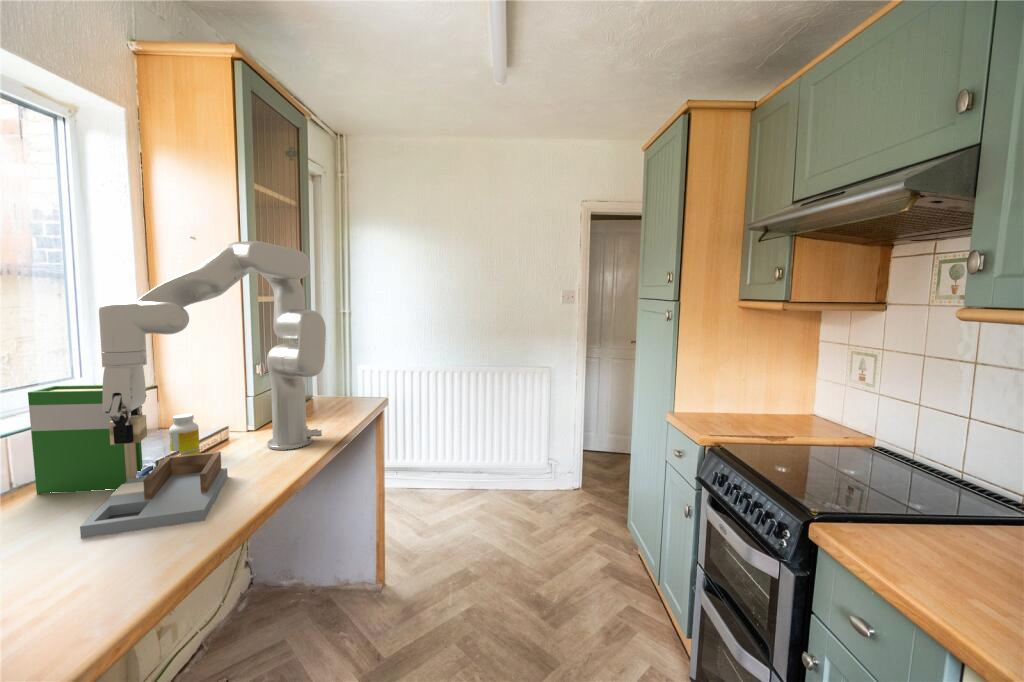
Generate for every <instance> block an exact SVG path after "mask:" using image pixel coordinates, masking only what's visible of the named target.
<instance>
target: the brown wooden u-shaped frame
mask: <svg viewBox="0 0 1024 682" xmlns="http://www.w3.org/2000/svg"><path fill="white" fill-rule="evenodd" d="M221 468H222V455H221V451H212V452H202V453H201V452H200V454H189V455H179V456H171V455H170V456H165V457H164V458H163V459H162V460H161V461H160V463H158V464H157V466H156V467H154V468H153V470H152V471H151V472H150V473H149V474H148V475H147V476H145V477H146V478H145V479H144V480H143V482H144V498H145V500H152V498H153V497H154V496H155V495H156V494H157V492H158V491H159V490H160V489H161V488H162V486H163V485H164V484H165V483H166V482H167V480H168V479H169V478H170V477H171V476H172V475H181V474H191V473H200V472H201V473H200V485H201V493H207V492H208V490H209V489H210V487H211V485H212V484H213V482H214V480H215V478H216V477H217V475H218V473H219V472H220V470H221Z"/></svg>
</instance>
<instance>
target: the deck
mask: <svg viewBox="0 0 1024 682" xmlns="http://www.w3.org/2000/svg"><path fill="white" fill-rule="evenodd" d="M200 473H201V472H200ZM200 473H191V474H181V475H172V476H171V477H170V478H169V479H168V480H167V482H166V483H165V484H164V485H163V486H162V488H161V489H160V490H159V491H158V492H157V494H156V495H155V496H154V497H153V498H152V500H145V498H144V482H143V480H144V479H145V478H146V477H147V476H143V477H139V478H130V479H129V480H128V481H127V482H126V483H125V484H122V485H121V486H120V487H119V488H118V489H117V490H114V491H113V492H112V493H111V494H110V497H109V498H108V499H107V500H105V502H104V503H103V504H102V505H101V506H99V508H98V509H96V511H95V512H94V513H92V514H91V515H90V516H89V517H88V518H87V519H86V520H85V521H84V522H82V524H81V525H80V526H79V531H80V539H86V538H93V537H100V536H106V535H113V534H121V533H128V532H135V530H136V531H141V530H147V529H156V528H162V527H167V526H168V527H169V526H170V527H171V526H176V525H177V526H178V525H183V524H191V523H197V522H203V521H205V520H206V519H207V517H208V515H209V514H210V512H211V509H212V507H213V506H212V505H214V504H215V502H216V500H217V499H218V498H217V497H218V496H219V494H220V492H221V490H222V489H221V488H223V487H222V486H224V485H223V484H225V483H226V481H227V479H228V468H227V467H223V468H222V467H221V470H220V472H219V473H218V475H217V477H216V478H215V480H214V482H213V484H212V485H211V487H210V489H209V490H208V492H207V493H201V485H200Z"/></svg>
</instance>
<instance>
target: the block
mask: <svg viewBox="0 0 1024 682" xmlns="http://www.w3.org/2000/svg"><path fill="white" fill-rule="evenodd" d="M124 417H125V419H126V416H124ZM112 423H113V421H110V422H109V431H110V445H115V443H114V432H113V425H112ZM131 424H133V442H132V443H139V442H140V441H141V442H142V441H143V440H144V439H146V438H147V436H148V429H147V427H148V426H147V424H148V423H147V415H146V414H143V415H136V416H131V422H130V425H131ZM125 444H128V443H125Z"/></svg>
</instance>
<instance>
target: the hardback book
mask: <svg viewBox="0 0 1024 682" xmlns="http://www.w3.org/2000/svg"><path fill="white" fill-rule="evenodd" d="M27 398H28V399H27V400H28V408H29V409H28V410H29V411H28V412H29V422H30V433H31V446H32V456H33V467H34V480H35V490H36V495H39V494H38V493H50V492H51V493H52V492H70V493H77V492H76V491H88V492H92V491H91V490H105V489H118V488H119V487H120V486H121V485H122V484H125V483H126V482H127V481H128V480H129V479H130V478H136V474H137V471H141V469H142V467H143V454H142V452H143V450H142V448H143V447H142V441H140V442H139V443H128V444H115V445H110V431H109V422H110V421H112V418H111V417H110V413H104V412H103V384H93V385H92V384H90V385H89V384H87V385H85V384H84V385H83V384H80V385H79V384H78V385H52V386H47V387H43V388H40V389H36V390H31V391H28V392H27ZM120 411H125V410H124V409H120ZM121 415H123V416H126V415H125V414H121ZM143 468H144V467H143ZM52 494H53V493H52Z"/></svg>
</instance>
